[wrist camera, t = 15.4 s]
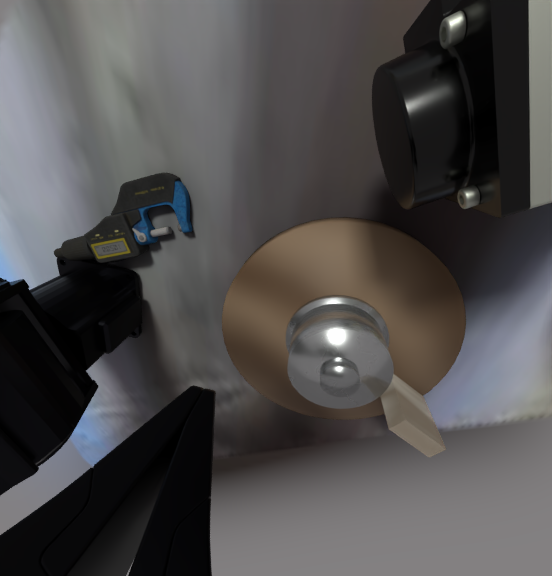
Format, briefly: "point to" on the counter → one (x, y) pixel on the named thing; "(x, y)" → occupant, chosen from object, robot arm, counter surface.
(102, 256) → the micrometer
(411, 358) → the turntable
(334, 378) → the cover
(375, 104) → the pneumatic valve
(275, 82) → the counter surface
